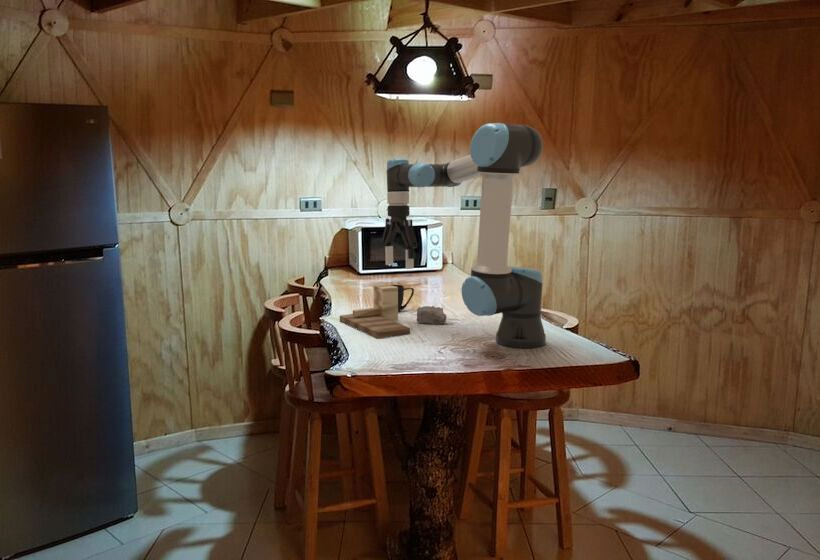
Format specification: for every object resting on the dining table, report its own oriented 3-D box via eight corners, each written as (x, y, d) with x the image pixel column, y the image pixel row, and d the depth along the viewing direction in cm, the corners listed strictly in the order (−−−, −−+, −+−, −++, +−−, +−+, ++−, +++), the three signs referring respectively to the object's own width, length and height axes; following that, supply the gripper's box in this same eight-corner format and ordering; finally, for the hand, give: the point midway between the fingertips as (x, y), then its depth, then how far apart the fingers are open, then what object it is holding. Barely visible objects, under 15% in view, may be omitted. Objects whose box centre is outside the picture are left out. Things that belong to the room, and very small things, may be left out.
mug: (414, 313, 232) (414, 288, 231) (382, 313, 231) (382, 288, 230) (413, 308, 240) (413, 284, 239) (381, 308, 239) (381, 284, 238)
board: (410, 333, 202) (410, 327, 201) (377, 338, 195) (377, 332, 195) (370, 317, 225) (370, 311, 225) (339, 321, 219) (339, 315, 219)
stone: (420, 326, 212) (420, 309, 211) (414, 321, 220) (414, 305, 219) (448, 324, 214) (448, 308, 214) (441, 319, 222) (441, 303, 221)
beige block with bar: (397, 320, 220) (397, 287, 218) (358, 325, 212) (358, 291, 210) (388, 316, 226) (388, 284, 224) (349, 321, 218) (349, 288, 216)
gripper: (427, 205, 204) (428, 269, 207) (389, 204, 225) (390, 262, 228) (408, 205, 200) (409, 271, 204) (371, 204, 221) (372, 263, 225)
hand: (399, 266), depth 216 cm, fingers open, 13 cm apart
